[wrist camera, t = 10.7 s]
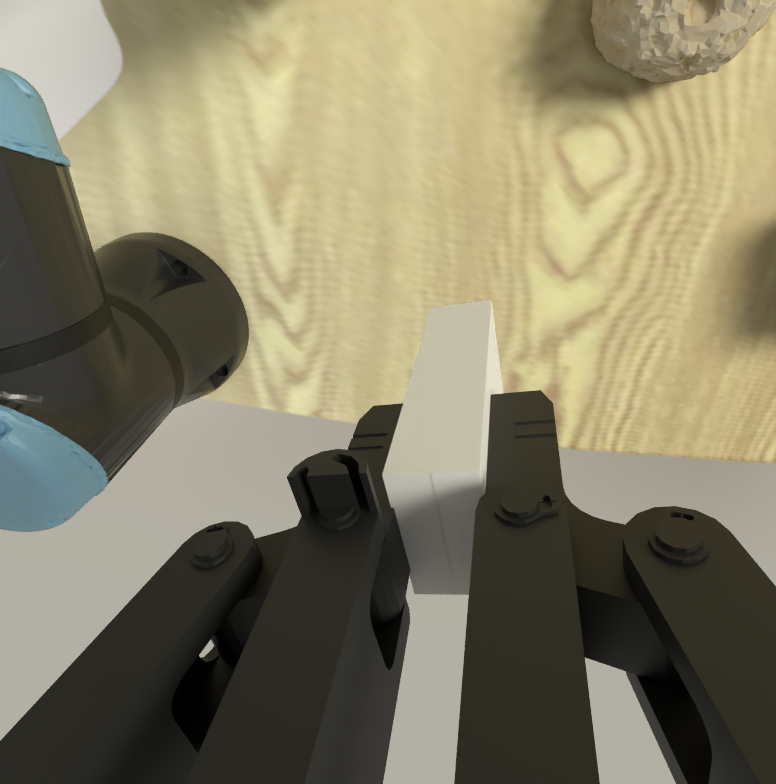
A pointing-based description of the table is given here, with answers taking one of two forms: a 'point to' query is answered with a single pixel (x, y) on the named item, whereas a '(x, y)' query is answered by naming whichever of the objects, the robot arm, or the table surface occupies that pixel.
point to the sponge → (675, 34)
